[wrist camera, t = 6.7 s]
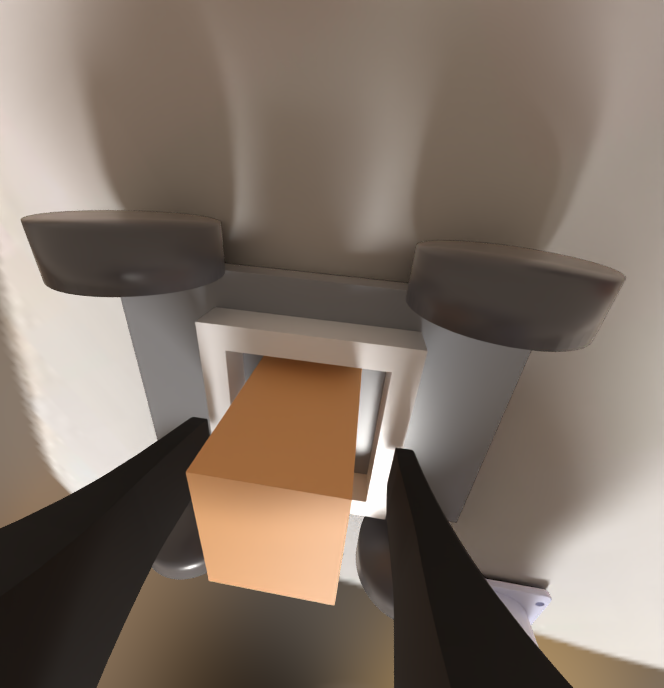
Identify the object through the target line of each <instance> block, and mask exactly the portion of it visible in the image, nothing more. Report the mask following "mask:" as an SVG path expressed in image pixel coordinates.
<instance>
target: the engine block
mask: <svg viewBox="0 0 664 688" xmlns="http://www.w3.org/2000/svg"><path fill="white" fill-rule="evenodd" d="M361 375H362V369H361V368H354V367H346V366H339V365H331V364H324V363H316V362H309V361H301V360H293V359H286V358H278V357H271V356H263V358H262V359H261V361H260V362H259V364H258V365H257V367H256V368H255V370H254V371H253V373H252V374H251V376H250V377H249V379H248V380H247V382H246V383H245V385H244V386H243V387H242V389H241V390H240V392H239V393H238V395H237V396H236V398H235V399H234V401H233V402H232V404H231V405H230V407H229V408H228V410H227V411H226V413H225V414H224V416H223V417H222V419H221V420H220V422H219V423H218V425H217V426H216V428H215V429H214V431H213V432H212V434H211V435H210V437H209V438H208V440H207V441H206V443H205V444H204V446H203V447H202V449H201V450H200V452H199V453H198V454H197V456H196V457H195V459H194V460H193V462H192V463H191V465H190V466H189V468H188V469H187V471H186V476H187V481H188V485H189V490H190V495H191V499H192V504H193V509H194V513H195V518H196V523H197V527H198V532H199V537H200V541H201V546H202V551H203V555H204V560H205V565H206V569H207V574H208V579H209V581H212V582H218V583H222V584H228V585H233V586H238V587H243V588H248V589H253V590H258V591H263V592H269V593H273V594H278V595H283V596H289V597H294V598H299V599H304V600H309V601H315V602H319V603H325V604H329V605H334V604H335V598H336V592H337V586H338V580H339V574H340V568H341V562H342V556H343V550H344V544H345V538H346V532H347V526H348V520H349V514H350V508H351V502H352V492H353V479H354V466H355V453H356V440H357V427H358V414H359V401H360V388H361Z"/></svg>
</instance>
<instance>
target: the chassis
mask: <svg viewBox="0 0 664 688" xmlns="http://www.w3.org/2000/svg"><path fill="white" fill-rule="evenodd" d="M21 223H22V225H23V228H24V231H25V233H26V236H27V239H28V241H29V244H30V247H31V249H32V252H33V255H34V257H35V260H36V263H37V265H38V268H39V271H40V273H41V276H42V279H43V281H44V284H45V285H46V286H48V287H49V288H51V289H53V290H56V291H59V292H64V293H68V294H74V295H82V296H94V297H121V301H122V305H123V309H124V312H125V316H126V320H127V324H128V328H129V332H130V336H131V339H132V343H133V347H134V351H135V355H136V359H137V362H138V366H139V370H140V374H141V378H142V382H143V385H144V389H145V393H146V397H147V401H148V405H149V409H150V412H151V416H152V420H153V424H154V428H155V432H156V435H157V439H158V440H159V439H161V438H162V437H164V436H165V435H167V434H168V433H169V432H171V431H172V430H174V429H175V428H176V427H178V426H179V425H181V424H182V423H184V422H185V421H186V420H188V419H189V418H191V417H198V418H205V419H207V420H208V426H209V433H210V435H211V434H212V432H213V431H214V429H215V428H216V426H217V425H218V423H219V422H220V420H221V419H222V417H223V416H224V414H225V413H226V411H227V410H228V408H229V407H230V405H231V404H232V402H233V401H234V399H235V398H236V396H237V395H238V393H239V392H240V390H241V389H242V387H243V386H244V385H245V383H246V382H247V380H248V379H249V377H250V376H251V374H252V373H253V371H254V370H255V368H256V367H257V365H258V364H259V362H260V361H261V359H262V358H263V356H271V357H278V358H286V359H293V360H301V361H309V362H316V363H324V364H331V365H339V366H346V367H354V368H361V369H362V375H361V388H360V401H359V414H358V427H357V440H356V453H355V466H354V479H353V492H352V502H351V508H350V514H355V515H361V516H365V517H364V519H363V522H362V524H361V528H360V533H359V538H358V543H357V548H356V566H357V572H358V576H359V579H360V581H361V584H362V586H363V588H364V590H365V592H366V593H367V595H368V596H369V598H370V599H371V600H372V602H373V603H374V604H375V605H376V606H377V607H378V608H379V609H380V610H381V611H382V612H383V613H385V614H386V615H387V616H389V617H390V618H392V619H393V620H394V598H393V582H392V571H391V560H390V550H389V539H388V528H387V516H386V493H387V481H388V477H389V473H390V469H391V464H392V460H393V456H394V452H395V448H396V447H397V448H403V449H410V450H413V451H414V452H415V455H416V457H417V460H418V462H419V464H420V467H421V469H422V471H423V473H424V475H425V478H426V480H427V482H428V484H429V486H430V488H431V490H432V492H433V494H434V496H435V498H436V500H437V501H438V503H439V505H440V507H441V509H442V511H443V513H444V514H445V516H446V518H447V520H448V521H450V522H457V520H458V518H459V516H460V513H461V511H462V509H463V506H464V504H465V502H466V499H467V497H468V495H469V493H470V490H471V488H472V486H473V483H474V481H475V479H476V477H477V474H478V472H479V470H480V467H481V465H482V463H483V460H484V458H485V456H486V454H487V451H488V449H489V447H490V444H491V442H492V440H493V437H494V435H495V433H496V431H497V428H498V426H499V424H500V421H501V419H502V417H503V414H504V412H505V410H506V408H507V405H508V403H509V401H510V398H511V396H512V394H513V392H514V389H515V387H516V385H517V382H518V380H519V378H520V375H521V373H522V371H523V369H524V366H525V364H526V362H527V359H528V357H529V355H530V352H531V350H534V351H548V352H561V351H572V350H578V349H582V348H585V347H586V346H588V345H590V344H591V342H592V341H593V339H594V337H595V336H596V334H597V332H598V330H599V328H600V326H601V324H602V322H603V321H604V319H605V317H606V315H607V313H608V311H609V309H610V307H611V306H612V304H613V302H614V300H615V298H616V296H617V294H618V292H619V291H620V289H621V287H622V285H623V283H624V281H625V279H626V276H625V275H624V274H622V273H621V272H619V271H617V270H614V269H612V268H609V267H606V266H603V265H600V264H597V263H594V262H590V261H586V260H582V259H578V258H574V257H570V256H565V255H560V254H556V253H551V252H545V251H540V250H534V249H528V248H522V247H515V246H508V245H500V244H492V243H482V242H471V241H455V240H432V241H424V242H420V243H418V244H417V245H416V249H415V254H414V259H413V264H412V269H411V274H410V279H409V283H402V282H393V281H384V280H375V279H365V278H356V277H347V276H338V275H329V274H319V273H310V272H301V271H292V270H283V269H273V268H264V267H255V266H246V265H236V264H227V263H225V262H224V251H223V239H222V228H221V222H220V221H219V220H217V219H213V218H209V217H204V216H198V215H190V214H181V213H169V212H154V211H127V210H88V211H63V212H50V213H41V214H34V215H29V216H26V217H23V218H21ZM152 568H153V569H154V570H155V571H156V572H158V573H159V574H161V575H162V576H165V577H167V578H171V579H189V578H194V577H197V576H201V575H203V574H205V573H207V569H206V565H205V560H204V555H203V551H202V546H201V541H200V537H199V532H198V527H197V523H196V518H195V513H194V509H193V504H192V499H191V501H190V502H189V504H188V506H187V507H186V509H185V510H184V512H183V514H182V515H181V517H180V519H179V520H178V522H177V523H176V525H175V527H174V528H173V530H172V532H171V533H170V535H169V537H168V538H167V540H166V541H165V543H164V545H163V547H162V548H161V550H160V552H159V554H158V556H157V558H156V560H155V561H154V563H153V565H152Z"/></svg>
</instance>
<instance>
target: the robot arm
mask: <svg viewBox="0 0 664 688" xmlns="http://www.w3.org/2000/svg"><path fill="white" fill-rule="evenodd" d="M209 437H210V433H209V426H208V420H207V419H205V418H198V417H191V418H189V419H188V420H186V421H185V422H184V423H182V424H181V425H179V426H178V427H176V428H175V429H174V430H172V431H171V432H169V433H168V434H167V435H165V436H164V437H162V438H161V439H159V440H158V441H156V442H155V443H154V444H152V445H151V446H149V447H148V448H146V449H145V450H143V451H142V452H140V453H139V454H137V455H136V456H134V457H133V458H131V459H130V460H128V461H126V462H125V463H123V464H122V465H120V466H118V467H117V468H115V469H114V470H112V471H111V472H109V473H107V474H106V475H104V476H102V477H101V478H99V479H97V480H96V481H94V482H92V483H90V484H89V485H87V486H85V487H83V488H81V489H80V490H78V491H76V492H74V493H72V494H70V495H69V496H67V497H65V498H63V499H61V500H59V501H57V502H55V503H53V504H51V505H49V506H47V507H45V508H43V509H41V510H39V511H37V512H35V513H33V514H31V515H29V516H26V517H24V518H23V519H20V520H18V521H16V522H14V523H11V524H9V525H7V526H5V527H2V528H0V688H96V687H97V685H98V683H99V680H100V678H101V675H102V673H103V671H104V668H105V666H106V664H107V661H108V659H109V657H110V655H111V652H112V650H113V648H114V646H115V643H116V641H117V639H118V637H119V634H120V632H121V630H122V628H123V625H124V623H125V621H126V619H127V617H128V615H129V613H130V611H131V608H132V606H133V604H134V602H135V600H136V598H137V596H138V594H139V592H140V589H141V587H142V585H143V583H144V581H145V579H146V577H147V575H148V573H149V571H150V569H151V567H152V565H153V563H154V561H155V560H156V558H157V556H158V554H159V552H160V550H161V548H162V547H163V545H164V543H165V541H166V540H167V538H168V537H169V535H170V533H171V532H172V530H173V528H174V527H175V525H176V523H177V522H178V520H179V519H180V517H181V515H182V514H183V512H184V510H185V509H186V507H187V506H188V504H189V502H190V501H191V495H190V490H189V485H188V481H187V476H186V471H187V469H188V468H189V466H190V465H191V463H192V462H193V460H194V459H195V457H196V456H197V454H198V453H199V452H200V450H201V449H202V447H203V446H204V444H205V443H206V441H207V440H208V438H209ZM386 516H387V528H388V539H389V550H390V560H391V571H392V582H393V598H394V688H573V687H572V686H571V685H570V684H569V683H568V682H567V680H566V679H565V678H564V677H563V676H562V675H561V674H560V672H559V671H558V670H557V669H556V668H555V667H554V666H553V664H552V663H551V662H550V661H549V660H548V658H547V657H546V656H545V655H544V654H543V652H542V651H541V650H540V649H539V647H538V644H537V642H536V639H535V636H534V633H533V630H532V628H531V625H532V623H533V622H534V621H535V620H536V619H537V618H538V616H539V615H540V614H541V613H542V612H543V610H544V609H545V608H546V607H547V606H548V604H549V603H550V602H551V600H552V599H551V596H550V594H549V592H548V591H547V590H544V589H540V588H534V587H529V586H523V585H518V584H512V583H507V582H501V581H496V580H490V579H485V578H484V576H483V575H482V573H481V572H480V571H479V569H478V568H477V566H476V565H475V563H474V562H473V560H472V559H471V557H470V556H469V554H468V553H467V551H466V550H465V548H464V546H463V545H462V543H461V542H460V540H459V538H458V537H457V535H456V533H455V532H454V530H453V528H452V527H451V525H450V523H449V522H448V520H447V518H446V516H445V514H444V513H443V511H442V509H441V507H440V505H439V503H438V501H437V500H436V498H435V496H434V494H433V492H432V490H431V488H430V486H429V484H428V482H427V480H426V478H425V475H424V473H423V471H422V469H421V467H420V464H419V462H418V460H417V457H416V455H415V452H414V451H413V450H410V449H403V448H397V447H396V448H395V452H394V456H393V460H392V464H391V469H390V473H389V477H388V481H387V493H386Z"/></svg>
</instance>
